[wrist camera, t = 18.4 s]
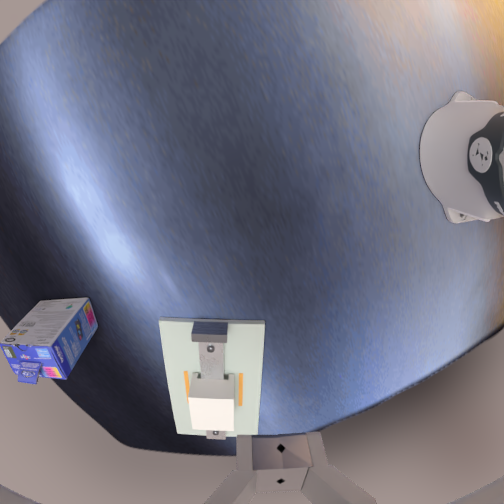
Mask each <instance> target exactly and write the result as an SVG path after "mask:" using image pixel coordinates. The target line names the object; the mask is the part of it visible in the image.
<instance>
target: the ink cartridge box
mask: <svg viewBox="0 0 504 504" xmlns="http://www.w3.org/2000/svg"><path fill="white" fill-rule="evenodd" d="M97 328H98V324H97V321H96V318H95V315H94V311H93V308H92V305H91V302H90V299H89V298H73V299H59V300H45V301H40V302H39V303H38V304H37V305H36V306H35V307H34V308H33V309H32V310H31V311H30V312H29V313H28V314H27V315H26V316H25V317H24V318H23V319H22V320H21V321H20V322H19V323H18V324H17V325H16V326H15V327H14V328H13V329H12V331H11V332H10V333H9V334H8V335H7V336H6V337H5V338H4V339H3V340H2V341H1V342H0V346H1V349H2V350H3V352H4V354H5V356H6V358H7V360H8V362H9V364H10V366H11V368H12V370H13V371H14V373H15V374H17V375H18V382H24V383H31V384H37V381H38V378H39V377H45V378H56V379H67V377H68V376H69V374H70V372H71V370H72V369H73V367H74V365H75V364H76V362H77V360H78V359H79V357H80V355H81V354H82V352H83V350H84V349H85V347H86V346H87V344H88V342H89V341H90V339H91V338H92V336H93V334H94V333H95V331H96V330H97ZM23 375H25V376H33V377H28V378H27V377H24V376H23Z"/></svg>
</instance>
